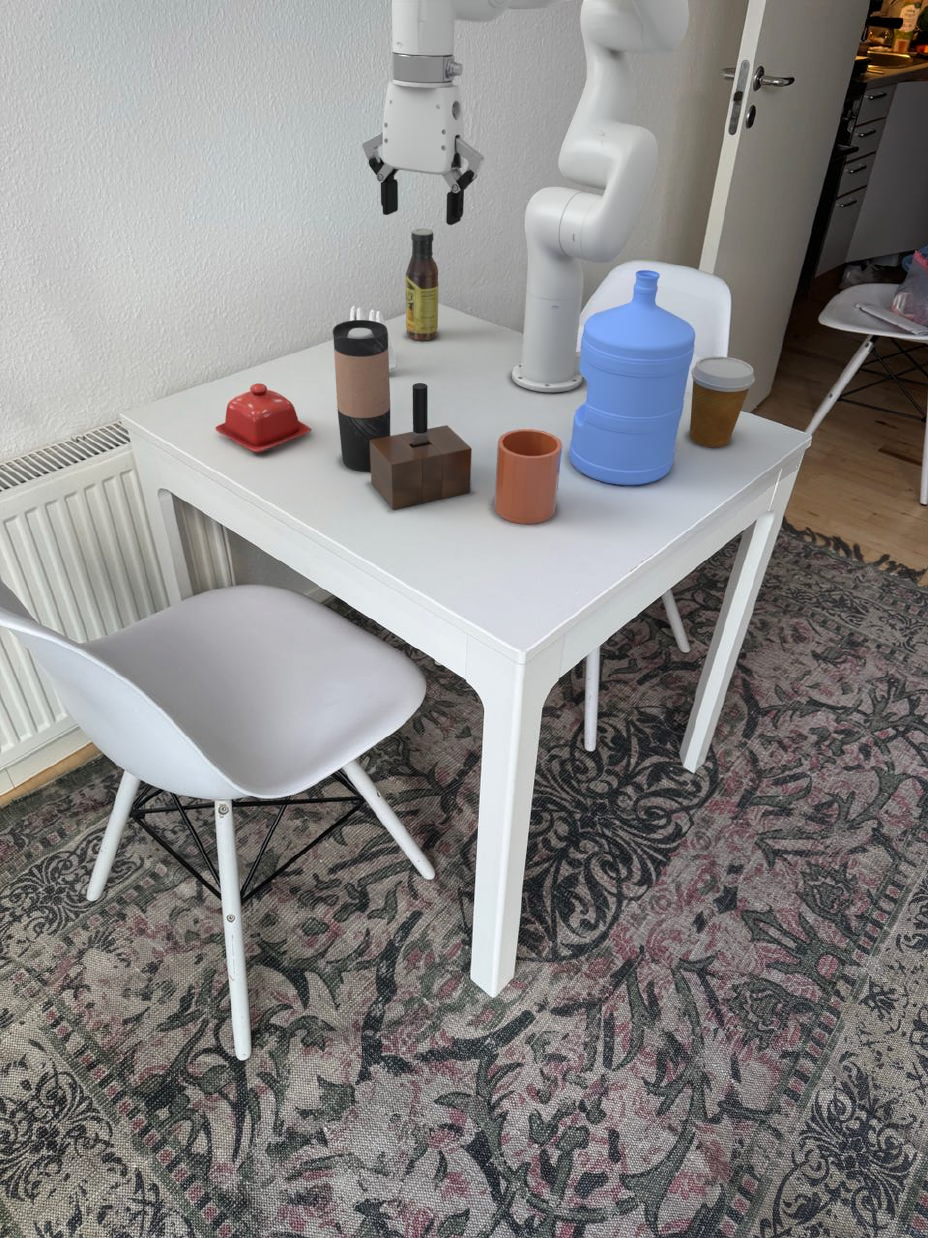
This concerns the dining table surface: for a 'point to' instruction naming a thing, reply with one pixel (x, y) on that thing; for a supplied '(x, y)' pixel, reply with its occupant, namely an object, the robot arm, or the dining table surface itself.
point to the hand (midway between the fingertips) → (421, 217)
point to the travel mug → (361, 388)
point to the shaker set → (381, 320)
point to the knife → (420, 415)
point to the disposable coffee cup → (718, 398)
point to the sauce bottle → (422, 288)
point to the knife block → (420, 467)
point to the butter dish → (261, 419)
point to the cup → (527, 476)
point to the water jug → (632, 389)
